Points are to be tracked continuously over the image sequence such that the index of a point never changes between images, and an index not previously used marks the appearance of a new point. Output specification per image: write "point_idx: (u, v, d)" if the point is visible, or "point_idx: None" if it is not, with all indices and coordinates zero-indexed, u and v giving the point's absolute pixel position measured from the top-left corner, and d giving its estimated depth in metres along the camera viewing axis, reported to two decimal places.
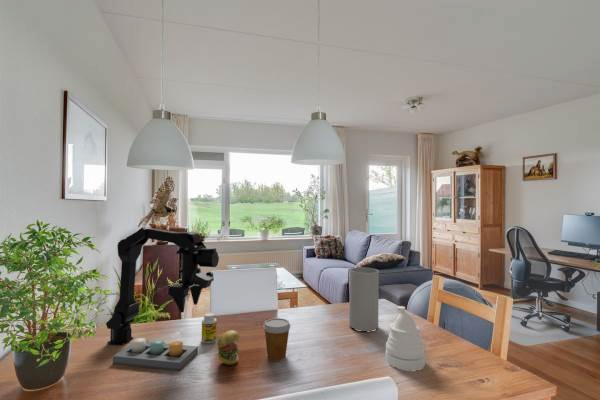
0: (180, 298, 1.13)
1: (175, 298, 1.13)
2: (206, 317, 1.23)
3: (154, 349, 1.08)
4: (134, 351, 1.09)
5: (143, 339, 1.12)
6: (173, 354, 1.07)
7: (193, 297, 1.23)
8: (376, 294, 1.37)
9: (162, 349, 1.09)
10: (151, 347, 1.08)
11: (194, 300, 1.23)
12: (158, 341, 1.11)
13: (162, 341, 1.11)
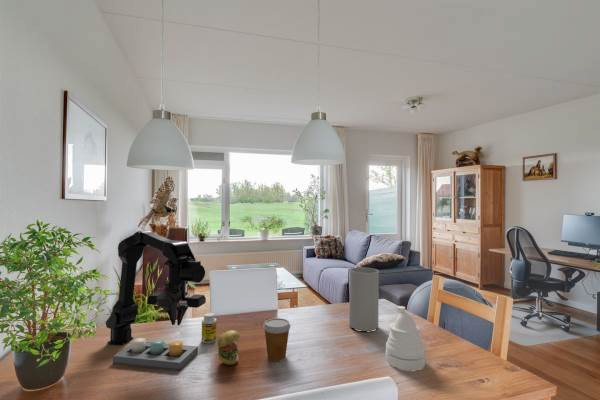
0: None
1: None
2: (206, 317, 1.23)
3: (154, 349, 1.08)
4: (134, 351, 1.09)
5: (143, 339, 1.12)
6: (173, 354, 1.07)
7: None
8: (376, 294, 1.37)
9: (162, 349, 1.09)
10: (151, 347, 1.08)
11: None
12: (158, 341, 1.11)
13: (162, 341, 1.11)
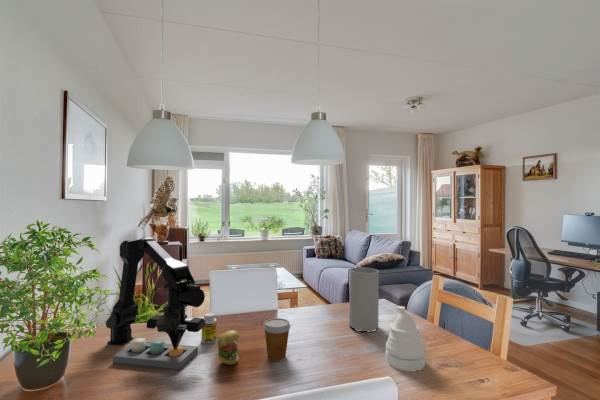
0: None
1: None
2: (206, 317, 1.23)
3: (154, 349, 1.08)
4: (134, 351, 1.09)
5: (143, 339, 1.12)
6: None
7: None
8: (376, 294, 1.37)
9: (162, 349, 1.09)
10: (151, 347, 1.08)
11: None
12: (158, 341, 1.11)
13: (162, 341, 1.11)
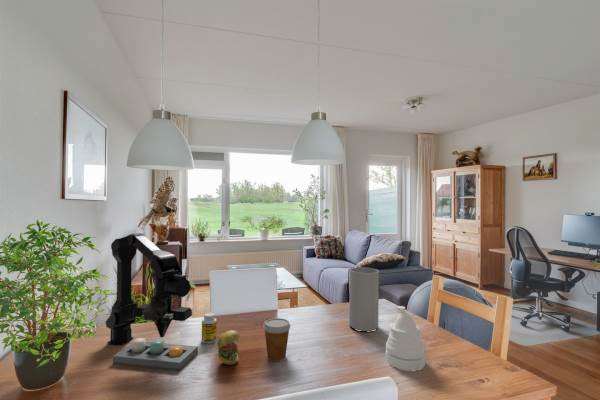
0: None
1: None
2: (206, 317, 1.23)
3: (154, 349, 1.08)
4: (134, 351, 1.09)
5: (143, 339, 1.12)
6: None
7: None
8: (376, 294, 1.37)
9: (162, 349, 1.09)
10: (151, 347, 1.08)
11: None
12: (158, 341, 1.11)
13: (162, 341, 1.11)
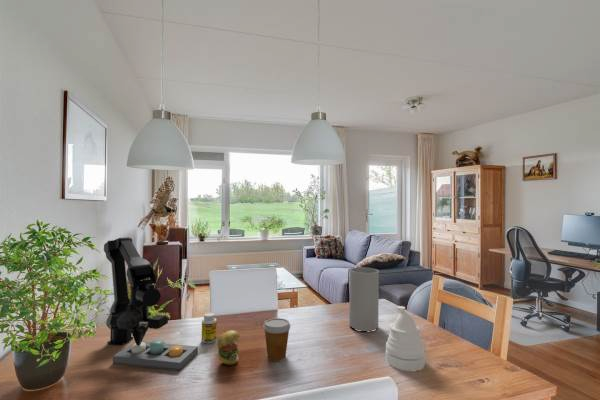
0: None
1: None
2: (206, 317, 1.23)
3: (154, 349, 1.08)
4: None
5: (143, 343, 1.12)
6: None
7: None
8: (376, 294, 1.37)
9: (162, 349, 1.09)
10: (151, 347, 1.08)
11: None
12: (158, 341, 1.11)
13: (162, 341, 1.11)
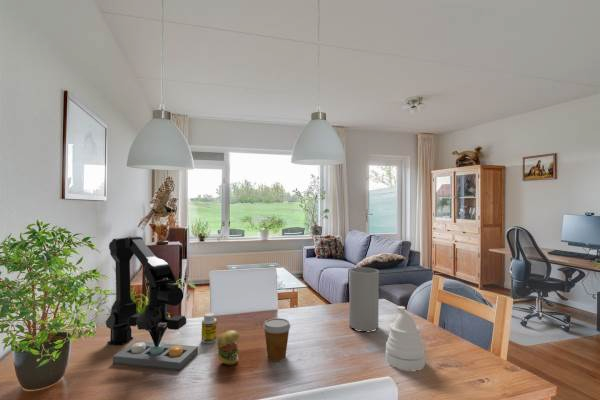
0: None
1: None
2: (206, 317, 1.23)
3: (154, 353, 1.08)
4: None
5: (143, 343, 1.12)
6: None
7: None
8: (376, 294, 1.37)
9: None
10: (151, 351, 1.08)
11: None
12: None
13: (162, 345, 1.11)
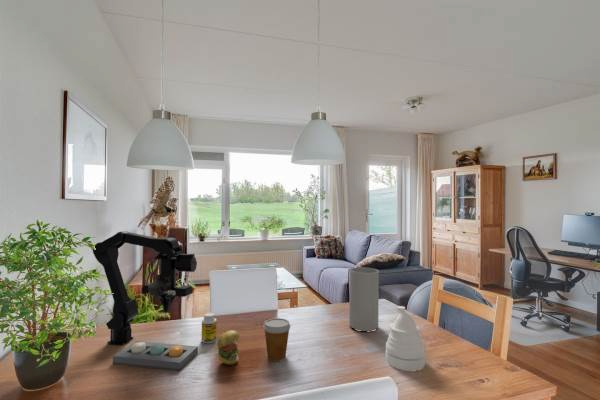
0: None
1: None
2: (206, 317, 1.23)
3: (154, 354, 1.08)
4: None
5: (143, 343, 1.12)
6: None
7: None
8: (376, 294, 1.37)
9: None
10: (151, 352, 1.08)
11: None
12: (158, 345, 1.11)
13: (162, 345, 1.11)
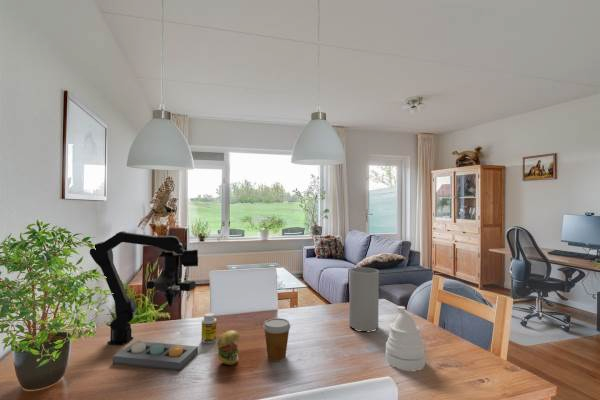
0: None
1: None
2: (206, 317, 1.23)
3: (154, 354, 1.08)
4: None
5: (143, 343, 1.12)
6: None
7: None
8: (376, 294, 1.37)
9: None
10: (151, 352, 1.08)
11: None
12: (158, 345, 1.11)
13: (162, 345, 1.11)
